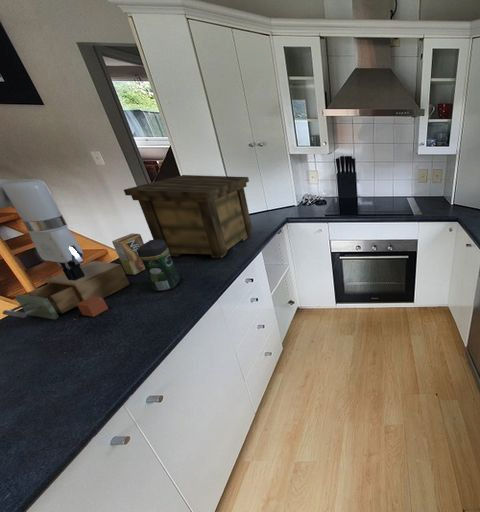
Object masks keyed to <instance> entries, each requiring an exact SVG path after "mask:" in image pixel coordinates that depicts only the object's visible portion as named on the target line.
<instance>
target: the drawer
mask: <svg viewBox="0 0 480 512" xmlns="http://www.w3.org/2000/svg"><path fill="white" fill-rule="evenodd" d="M47 295H48V296H47ZM14 298H15V300H16V301H17V303H18V304H19V305H18V306H16V307H14V308H11V309H5V310H3V311H2V315H4V316H11V317H15V318H22V319H23V318H26V317H27V316H33V317H38V318H45V319H49V320H57V319H58V318H60V315H59V314H65V313H66V312H68V311H70V310H72V309H74V308H77V307H78V306H77V304H78V303H80V302H82V301H83V300H82V298H81V296H80V294H79V293H78V291H77V289H76V287H75V286H72V285H65V284H58V283H50V284H48V283H47V284H45V285H42V286H40V287H38V288H35V289H33V290H31V291H27V294H20V293H19V294H16V295H14ZM21 308H22V310H23V311H24V312H23V311H17V310H19V309H21Z"/></svg>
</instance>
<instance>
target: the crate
mask: <svg viewBox="0 0 480 512" xmlns="http://www.w3.org/2000/svg"><path fill="white" fill-rule="evenodd" d="M249 182H250V179H249V176H225V175H196V174H195V175H194V174H181V175H176V176H174V177H169V178H166V179H162V180H157V181H153V182H149V183H144V184H141V185H137V186H133V187H129V188H125V189H123V193H124V194H125V196H130V197H131V199H132V201H137V202H138V203H139V206H140V209H141V211H142V214H143V217H144V219H145V222H146V224H147V227H148V229H149V232H150V235H151V237H152V240H160V239H161V240H163V241H165V242H166V244H167V246H168V249H169V253H170V256H171V257H180V256H182V255H184V254H188V255H189V254H192V255H210V256H211V259H222V258H223V257H225V256H226V255H227V253H228V250H229V249H231V248H232V247H233V246H235V245H236V244H238V243H239V242H244V241H246V240H247V239H248V236H251V235H252V234H253V233H254V231H253V226H252V222H251V215H250V211H249V207H248V203H247V196H246V192H245V188H247V187H248V184H247V183H249Z"/></svg>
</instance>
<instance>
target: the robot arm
mask: <svg viewBox="0 0 480 512" xmlns="http://www.w3.org/2000/svg"><path fill="white" fill-rule="evenodd" d="M8 207H10V208H11V207H13V208H14V209H15V212H16V213H17V215H18V216H19V218H20V220H21V221H22V223H23V225H24V226H25V228H26V229H27V231H28V234H29V237H30V239H31V242H32V244H33V245H34V248H35V250H36V252H37V253H38V255H39V257H40V258H41V259H42V260H44V261H46V262H54V263H56V264H57V266H58V267H59V268H60V269H61V270H62V273H65V275H66V277H67V279H68V280H72V281H75V280H78V279H80V278H82V277H84V276H85V275H84V273H83V271H82V269H81V267H80V266H81V264H82V263H84V259H83V257H84V252H83V249H82V247H81V245H80V244H79V242H78V240H77V239H76V237H75V236H74V234H73V233H72V232H71V230H70V229H69V227H68V223H67V221H66V219H65V217H64V215H63V214H62V212H61V210H60V208H59V205H58V204H57V202H56V200H55V199H54V197H53V195H52V193H51V191H50V188H49V187H48V185H47V183H46V182H44V181H43V180H42V179H38V178H21V179H5V178H0V210H2V209H5V208H8Z"/></svg>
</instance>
